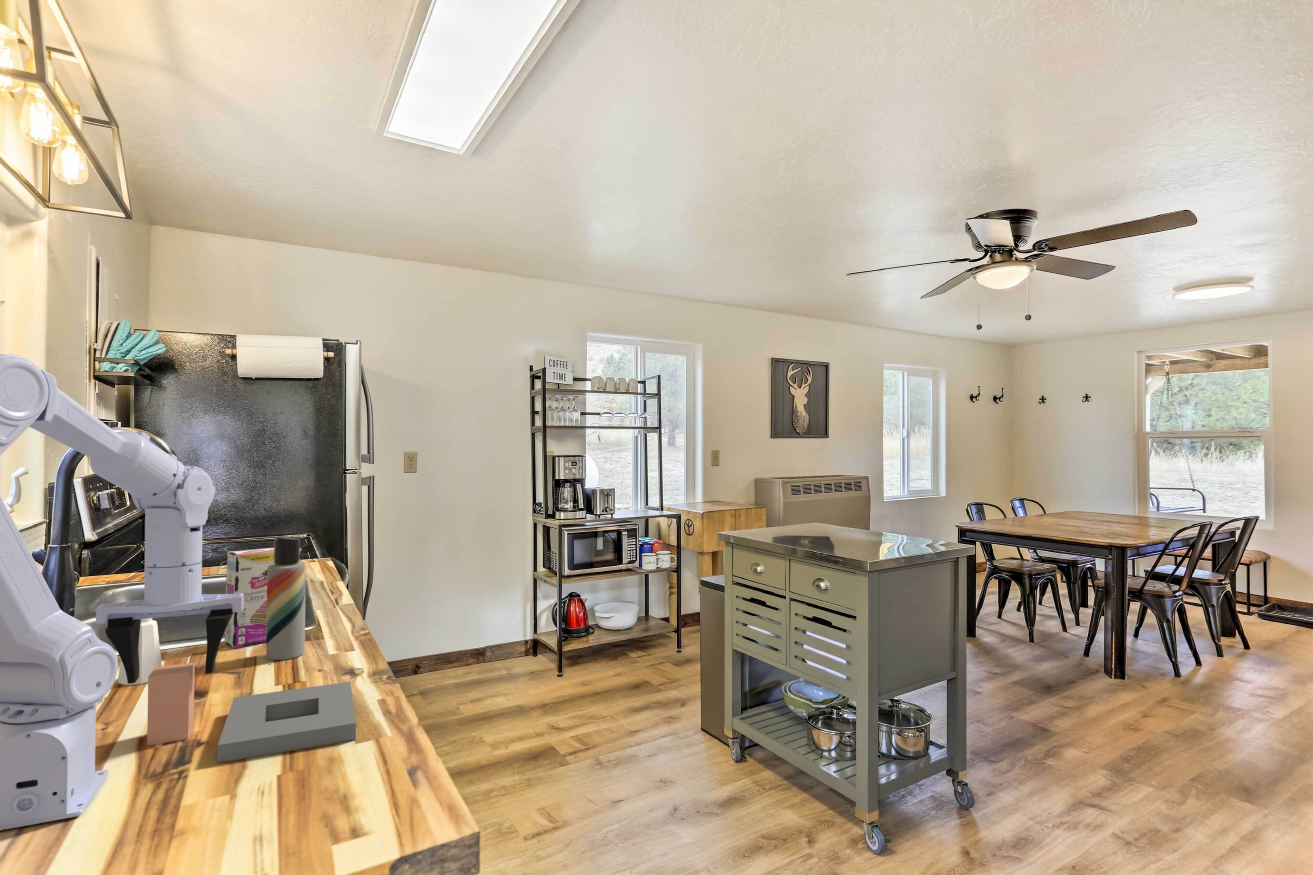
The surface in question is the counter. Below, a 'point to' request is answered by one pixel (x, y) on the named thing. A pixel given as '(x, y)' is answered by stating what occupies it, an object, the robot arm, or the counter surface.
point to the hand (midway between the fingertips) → (172, 675)
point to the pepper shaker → (145, 653)
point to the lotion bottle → (285, 601)
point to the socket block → (287, 721)
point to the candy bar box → (248, 595)
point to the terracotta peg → (170, 703)
